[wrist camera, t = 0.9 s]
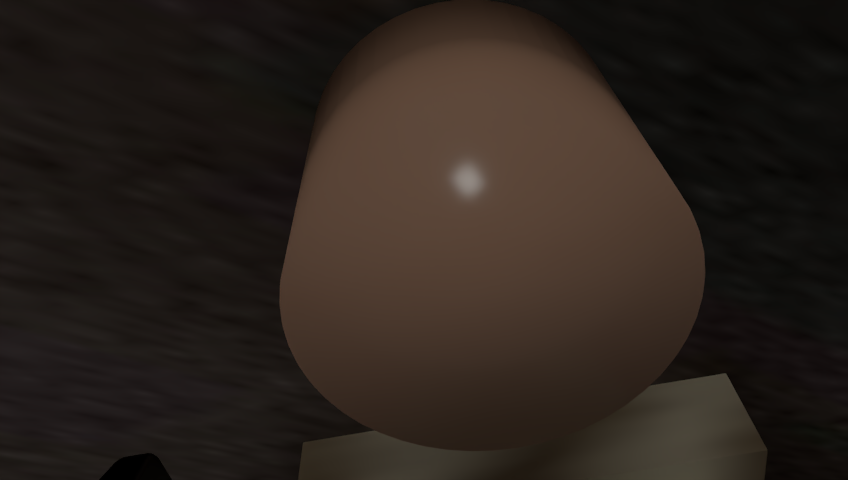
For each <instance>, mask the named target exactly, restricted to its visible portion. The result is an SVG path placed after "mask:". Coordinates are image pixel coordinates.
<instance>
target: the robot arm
mask: <svg viewBox="0 0 848 480" xmlns="http://www.w3.org/2000/svg"><path fill="white" fill-rule="evenodd" d="M99 480H172V479H171V478H170V476H169V474H168V473H167V471H166V469H165V468H164V466H163V465H162V463H161V461H160V460H159V458H158V457H157V456H155V455H154V454H151V453H146V454H140V455H134V456H128V457H123V458H121V459H119V460H118V461H116V462H115V463H114V464H113V465H112V466H111V467H110V469H109V470H108V471H107V472H106V473H105V474H104V475H103V476H102V477H101V478H100V479H99Z"/></svg>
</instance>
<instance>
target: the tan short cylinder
mask: <svg viewBox="0 0 848 480" xmlns="http://www.w3.org/2000/svg"><path fill="white" fill-rule="evenodd" d="M704 280H705V260H704V250H703V245H702V241H701V236H700V232H699V229H698V226H697V224H696V222H695V219H694V217H693V214H692V212H691V210H690V208H689V206H688V205H687V203H686V202H685V200H684V199H683V197H682V195H681V194H680V192H679V191H678V189H677V188H676V186H675V185H674V183H673V182H672V180H671V179H670V177H669V175H668V174H667V172H666V171H665V169H664V168H663V166H662V165H661V163H660V162H659V160H658V159H657V157H656V156H655V154H654V153H653V151H652V150H651V148H650V147H649V145H648V144H647V142H646V141H645V139H644V138H643V136H642V135H641V133H640V131H639V130H638V128H637V127H636V125H635V124H634V122H633V121H632V119H631V118H630V116H629V115H628V113H627V112H626V110H625V109H624V107H623V106H622V104H621V103H620V101H619V100H618V98H617V97H616V95H615V94H614V92H613V91H612V89H611V87H610V86H609V84H608V83H607V81H606V80H605V78H604V77H603V75H602V74H601V72H600V71H599V69H598V68H597V66H596V65H595V63H594V62H593V60H592V59H591V57H590V56H589V54H588V53H587V52H586V51H585V50H584V49H583V48H582V46H581V45H580V44H579V43H578V42H577V41H576V40H575V39H574V38H573V37H572V36H570V35H569V34H568V33H567V32H566V31H564V30H563V29H562V28H561V27H559V26H558V25H556V24H554V23H553V22H551V21H549V20H548V19H546V18H545V17H543V16H541V15H538V14H536V13H534V12H531V11H529V10H527V9H524V8H521V7H517V6H514V5H510V4H506V3H503V2H495V1H488V0H453V1H446V2H439V3H434V4H430V5H427V6H423V7H420V8H416V9H413V10H411V11H409V12H406V13H404V14H401V15H399V16H397V17H395V18H393V19H391V20H389V21H388V22H386V23H384V24H383V25H381V26H379V27H378V28H376V29H375V30H373V31H372V32H371V33H370V34H368V35H367V36H366V37H364V38H363V39H362V40H361V41H359V42H358V43H357V44H356V46H355V47H354V48H353V49H352V50H351V51H350V52H349V53H348V54H347V55H346V56H345V57H344V58H343V60H342V61H341V62H340V64H339V65H338V67H337V68H336V69H335V71H334V72H333V74H332V75H331V77H330V79H329V81H328V83H327V85H326V87H325V89H324V90H323V93H322V96H321V99H320V101H319V104H318V107H317V111H316V115H315V120H314V125H313V130H312V134H311V139H310V144H309V148H308V153H307V158H306V162H305V167H304V172H303V176H302V181H301V186H300V190H299V195H298V200H297V205H296V209H295V214H294V219H293V223H292V228H291V233H290V237H289V242H288V247H287V251H286V256H285V261H284V266H283V271H282V275H281V280H280V303H279V304H280V312H281V319H282V326H283V329H284V332H285V336H286V339H287V342H288V345H289V347H290V349H291V351H292V353H293V356H294V358H295V360H296V362H297V364H298V365H299V367H300V368H301V370H302V371H303V372H304V374H305V375H306V377H307V378H308V380H309V381H310V382H311V383H312V384H313V386H314V387H315V388H316V389H317V390H318V391H319V392H320V393H321V394H322V395H323V396H324V397H325V398H326V399H327V400H328V401H330V402H331V403H332V404H333V405H334V406H336V407H337V408H338V409H339V410H340V411H342V412H343V413H345V414H346V415H348V416H350V417H351V418H353V419H354V420H356V421H357V422H359V423H361V424H363V425H365V426H367V427H369V428H371V429H373V430H375V431H377V432H379V433H382V434H385V435H387V436H390V437H393V438H396V439H398V440H401V441H405V442H409V443H413V444H417V445H421V446H426V447H432V448H439V449H445V450H459V451H494V450H503V449H512V448H519V447H524V446H529V445H534V444H539V443H543V442H546V441H550V440H553V439H556V438H560V437H563V436H566V435H568V434H571V433H573V432H576V431H579V430H581V429H584V428H586V427H588V426H590V425H592V424H594V423H596V422H598V421H600V420H602V419H604V418H606V417H608V416H609V415H611V414H612V413H614V412H616V411H617V410H619V409H620V408H622V407H624V406H625V405H627V404H628V403H629V402H630V401H632V400H633V399H634V398H636V397H637V396H638V395H639V394H641V393H642V392H643V391H645V390H646V389H647V388H648V387H649V386H650V385H651V384H652V383H653V382H654V381H655V380H656V379H657V378H658V377H659V376H660V375H661V374H662V373H663V372H664V370H665V369H666V368H667V367H668V365H669V364H670V363H671V362H672V361H673V359H674V358H675V357H676V355H677V354H678V352H679V351H680V349H681V347H682V346H683V344H684V343H685V341H686V339H687V338H688V335H689V333H690V331H691V329H692V327H693V324H694V322H695V320H696V318H697V314H698V311H699V307H700V304H701V300H702V297H703V289H704Z"/></svg>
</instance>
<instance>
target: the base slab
mask: <svg viewBox="0 0 848 480" xmlns="http://www.w3.org/2000/svg"><path fill="white" fill-rule="evenodd" d="M767 451H768V450H767V448H766V446H765V444H764V443H763V441H762V439H761V437H760V435H759V433H758V432H757V430H756V428H755V426H754V424H753V422H752V421H751V419H750V417H749V415H748V413H747V411H746V409H745V408H744V406H743V404H742V402H741V400H740V398H739V397H738V395H737V393H736V391H735V389H734V387H733V385H732V384H731V382H730V380H729V378H728V376H727V374H726V373H725V374H719V375H713V376H707V377H700V378H694V379H688V380H682V381H676V382H670V383H664V384H658V385H652V386H649V387H648V388H647V389H646V390H645V391H643V392H642V393H641V394H639V395H638V396H637V397H636V398H634V399H633V400H632V401H630V402H629V403H628V404H627V405H625V406H624V407H622V408H620V409H619V410H617V411H616V412H614V413H612V414H611V415H609V416H608V417H606V418H604V419H602V420H600V421H598V422H596V423H594V424H592V425H590V426H588V427H586V428H584V429H581V430H579V431H576V432H573V433H571V434H568V435H566V436H563V437H560V438H556V439H553V440H550V441H546V442H543V443H539V444H534V445H529V446H524V447H519V448H512V449H503V450H494V451H459V450H445V449H439V448H432V447H426V446H421V445H417V444H413V443H409V442H405V441H401V440H398V439H396V438H393V437H390V436H387V435H385V434H382V433H379V432H377V431H370V432H364V433H358V434H352V435H346V436H339V437H333V438H327V439H321V440H315V441H309V442H303V447H302V454H301V462H300V470H299V478H298V480H764V478H765V469H766V460H767Z"/></svg>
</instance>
